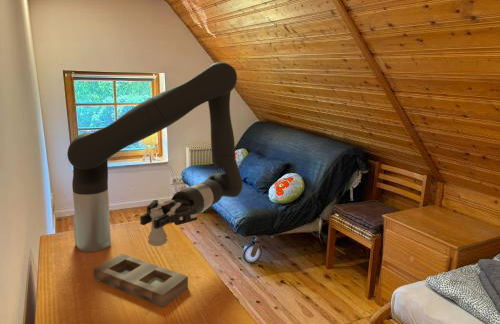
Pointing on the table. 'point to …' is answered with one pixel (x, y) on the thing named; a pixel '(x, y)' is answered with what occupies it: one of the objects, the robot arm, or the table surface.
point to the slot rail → (141, 279)
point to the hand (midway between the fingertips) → (148, 222)
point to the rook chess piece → (157, 230)
